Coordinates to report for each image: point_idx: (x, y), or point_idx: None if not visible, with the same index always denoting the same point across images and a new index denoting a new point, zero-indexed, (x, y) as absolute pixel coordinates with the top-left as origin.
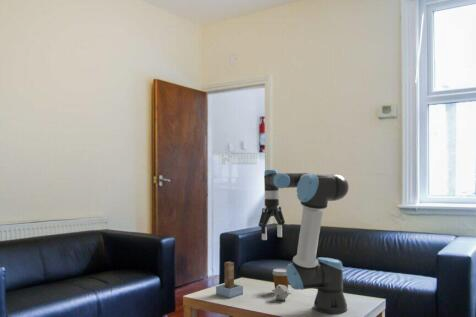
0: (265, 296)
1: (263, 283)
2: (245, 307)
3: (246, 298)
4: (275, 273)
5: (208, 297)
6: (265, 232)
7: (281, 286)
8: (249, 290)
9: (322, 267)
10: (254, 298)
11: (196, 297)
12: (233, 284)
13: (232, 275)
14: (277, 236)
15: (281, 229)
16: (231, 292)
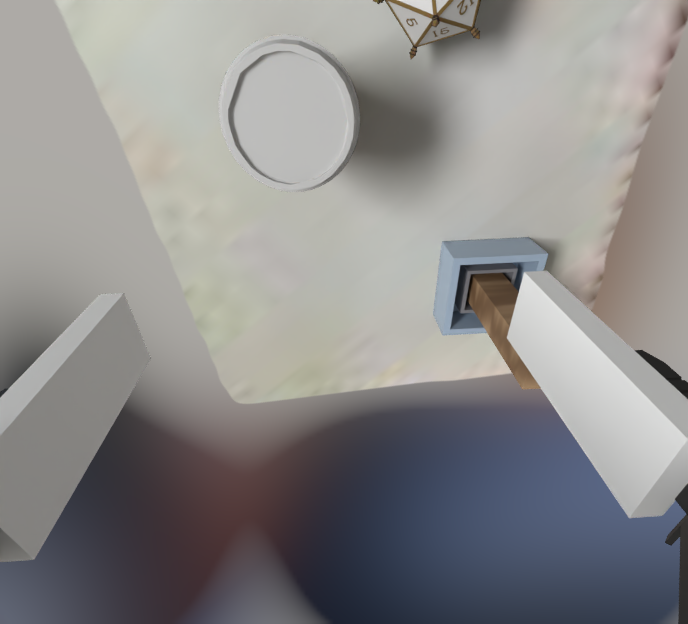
0: (411, 130)
1: (230, 299)
2: (642, 68)
3: (493, 181)
4: (356, 125)
5: None
6: (627, 354)
7: None
8: (369, 264)
9: None
10: (473, 150)
11: None
12: (486, 288)
13: (512, 312)
14: (147, 359)
15: (33, 386)
16: (530, 247)
